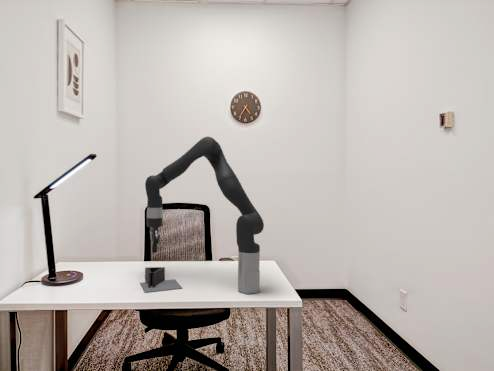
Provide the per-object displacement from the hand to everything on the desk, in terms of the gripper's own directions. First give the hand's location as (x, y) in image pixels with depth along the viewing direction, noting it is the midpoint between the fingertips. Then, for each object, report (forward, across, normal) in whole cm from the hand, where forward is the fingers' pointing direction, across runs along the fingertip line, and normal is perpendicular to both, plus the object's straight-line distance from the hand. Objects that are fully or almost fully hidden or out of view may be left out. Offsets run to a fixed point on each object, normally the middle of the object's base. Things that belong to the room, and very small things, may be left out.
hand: (154, 252), depth 179 cm
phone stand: (+9, -6, +1) cm, 11 cm away
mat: (+12, -16, 0) cm, 20 cm away
